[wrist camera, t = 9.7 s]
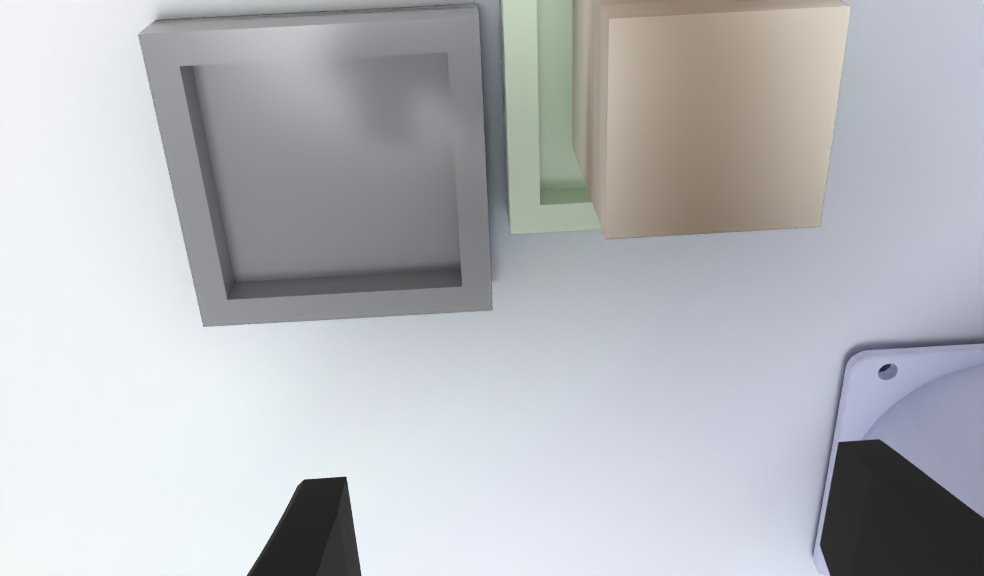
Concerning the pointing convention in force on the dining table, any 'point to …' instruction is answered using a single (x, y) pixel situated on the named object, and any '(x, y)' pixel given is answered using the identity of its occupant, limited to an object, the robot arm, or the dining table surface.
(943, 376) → the robot arm
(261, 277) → the grey dish
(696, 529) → the dining table surface
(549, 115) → the green dish
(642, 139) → the letter block
